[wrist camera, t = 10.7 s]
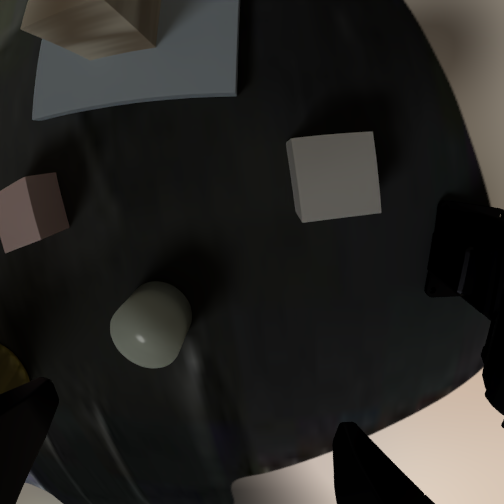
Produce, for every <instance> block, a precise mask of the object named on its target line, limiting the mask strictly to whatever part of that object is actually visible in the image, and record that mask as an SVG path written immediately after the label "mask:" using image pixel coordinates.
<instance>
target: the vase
mask: <svg viewBox="0 0 504 504" xmlns="http://www.w3.org/2000/svg"><path fill="white" fill-rule="evenodd" d="M28 382H30V379H29V376H28V373H27V371H26V369H25V367H24V366H23V364H22V363H21V361H20V360H19V359H18V357H17V356H16V355H15V354H14V353H13V352H12V351H11V350H9V349H8V348H7V347H5V346H4V345H2V344H0V394H2V393H4V392H7V391H9V390H11V389H14V388H16V387H19V386H21V385H23V384H25V383H28Z"/></svg>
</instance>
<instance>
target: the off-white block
mask: <svg viewBox="0 0 504 504" xmlns="http://www.w3.org/2000/svg"><path fill="white" fill-rule="evenodd" d="M286 147H287V154H288V160H289V167H290V174H291V181H292V188H293V196H294V203H295V211H296V213H297V215H298V216H299V218H300V219H301V221H302V223H305V222H312V221H320V220H327V219H335V218H343V217H351V216H359V215H367V214H376V213H381V201H380V189H379V179H378V169H377V160H376V152H375V144H374V137H373V132H356V133H341V134H329V135H318V136H308V137H299V138H291V139H290V140H289V141H287V142H286Z"/></svg>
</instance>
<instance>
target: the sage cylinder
mask: <svg viewBox="0 0 504 504" xmlns="http://www.w3.org/2000/svg"><path fill="white" fill-rule="evenodd" d="M191 322H192V310H191V306H190V304H189V302H188V300H187V298H186V297H185V296H184V294H183V293H182V292H181V291H180V290H178V289H177V288H176V287H174V286H172V285H170V284H168V283H165V282H159V281H152V282H148V283H145V284H143V285H141V286H140V287H138V288H137V289H136V290H135V292H134V293H133V294H132V295H131V296H130V297H129V298H128V299H127V300H126V301H125V302H124V304H123V305H122V306H121V307H120V308H119V309H118V310H117V311H116V312H115V314H114V315H113V317H112V319H111V323H110V332H111V337H112V340H113V342H114V344H115V346H116V347H117V349H118V350H119V351H120V352H121V354H122V355H124V356H125V357H126V358H127V359H128V360H130V361H131V362H133V363H135V364H137V365H140V366H143V367H147V368H161V367H164V366H167V365H169V364H170V363H172V362H173V361H174V360H175V358H176V357H177V355H178V353H179V351H180V348H181V346H182V344H183V341H184V339H185V337H186V334H187V332H188V330H189V327H190V325H191Z"/></svg>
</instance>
